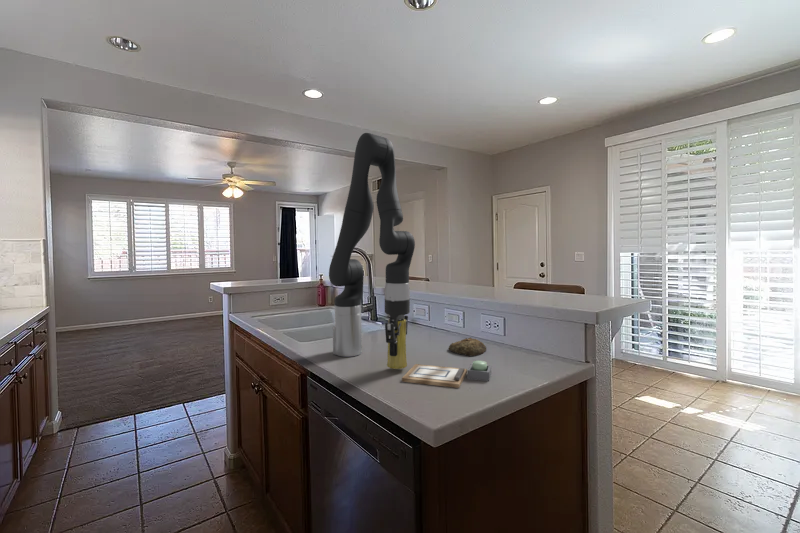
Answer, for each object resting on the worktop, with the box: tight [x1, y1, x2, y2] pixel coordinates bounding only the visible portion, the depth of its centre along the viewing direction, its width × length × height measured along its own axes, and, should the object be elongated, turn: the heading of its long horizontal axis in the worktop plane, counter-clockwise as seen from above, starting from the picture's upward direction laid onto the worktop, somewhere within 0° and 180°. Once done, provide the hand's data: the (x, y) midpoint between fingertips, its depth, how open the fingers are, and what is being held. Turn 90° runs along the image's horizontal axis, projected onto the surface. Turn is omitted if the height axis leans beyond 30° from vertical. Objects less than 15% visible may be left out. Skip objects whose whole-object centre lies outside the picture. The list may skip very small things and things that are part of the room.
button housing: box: [466, 363, 492, 382], centre depth 108 cm, size 6×6×2 cm
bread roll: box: [448, 337, 487, 357], centre depth 135 cm, size 13×12×5 cm
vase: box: [386, 318, 408, 370], centre depth 113 cm, size 6×6×14 cm
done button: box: [472, 360, 488, 371], centre depth 108 cm, size 4×4×2 cm
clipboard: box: [401, 363, 468, 389], centre depth 108 cm, size 16×13×2 cm
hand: (397, 352), depth 114 cm, fingers closed on vase, 5 cm apart
